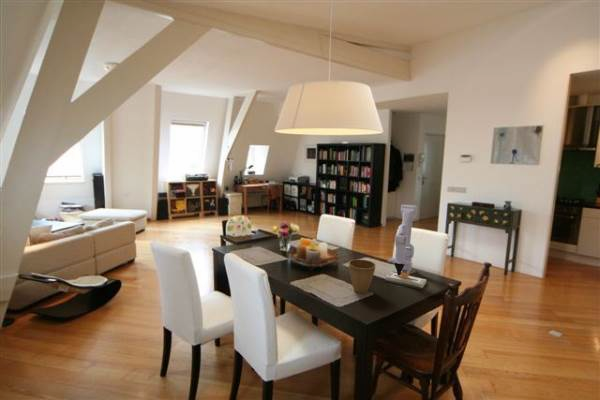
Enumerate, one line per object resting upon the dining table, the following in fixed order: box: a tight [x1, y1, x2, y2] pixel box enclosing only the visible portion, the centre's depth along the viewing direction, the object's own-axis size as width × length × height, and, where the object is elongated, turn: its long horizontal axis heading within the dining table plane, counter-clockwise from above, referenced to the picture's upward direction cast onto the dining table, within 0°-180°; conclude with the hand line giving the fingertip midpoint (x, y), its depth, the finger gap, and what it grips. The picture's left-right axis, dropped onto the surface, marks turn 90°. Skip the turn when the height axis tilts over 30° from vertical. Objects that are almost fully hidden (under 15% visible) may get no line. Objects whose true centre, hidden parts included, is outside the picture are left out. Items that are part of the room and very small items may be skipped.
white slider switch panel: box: [385, 271, 427, 289], centre depth 202 cm, size 9×22×2 cm, turn 56°
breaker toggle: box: [401, 269, 410, 279], centre depth 202 cm, size 3×4×4 cm
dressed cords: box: [384, 271, 428, 290], centre depth 202 cm, size 16×21×1 cm
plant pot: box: [348, 259, 376, 294], centre depth 186 cm, size 15×15×16 cm
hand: (399, 274), depth 204 cm, fingers closed
